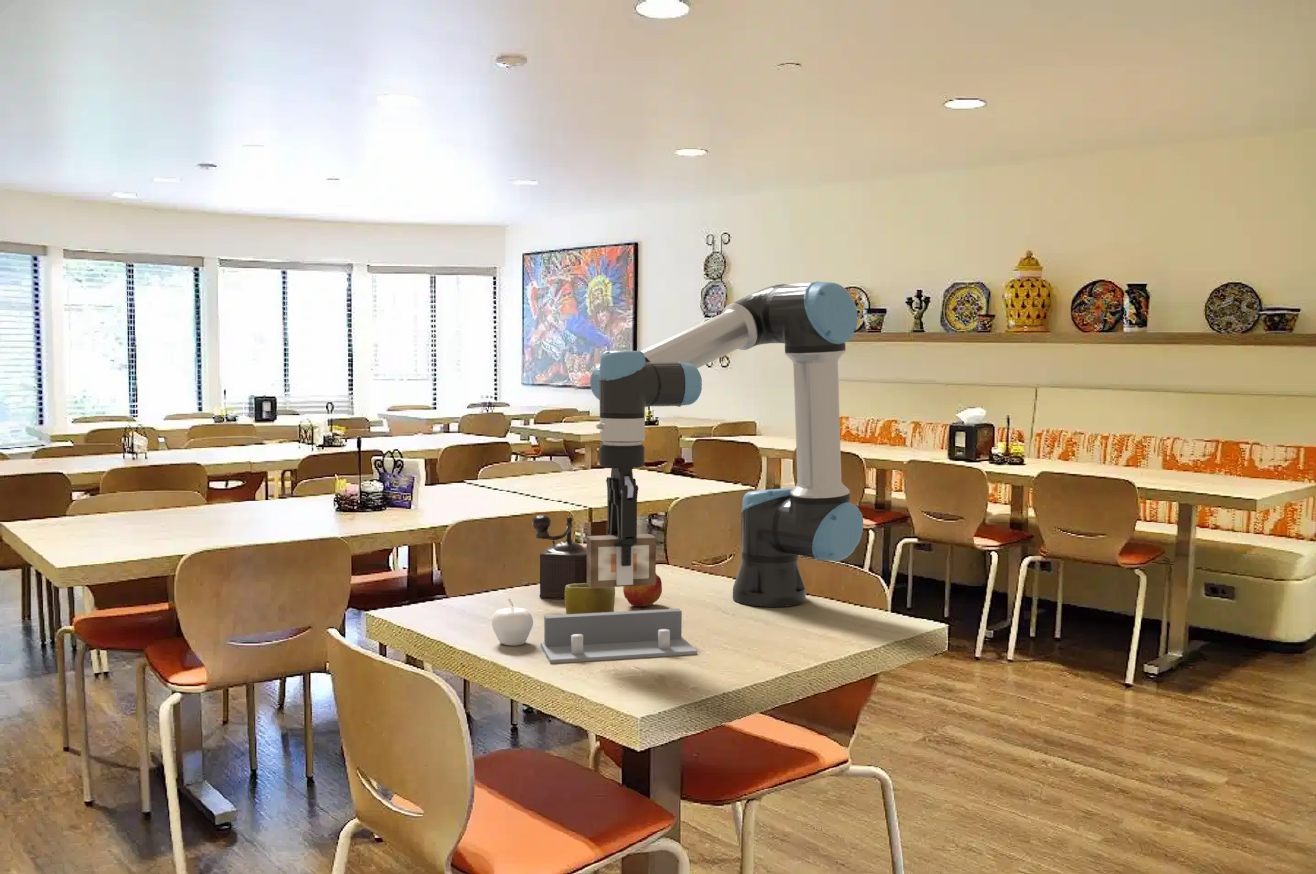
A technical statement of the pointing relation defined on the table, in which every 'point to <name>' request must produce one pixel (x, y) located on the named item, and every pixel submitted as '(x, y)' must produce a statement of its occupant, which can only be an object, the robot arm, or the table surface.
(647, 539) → the picture block
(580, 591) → the mug
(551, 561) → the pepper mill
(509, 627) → the plain white apple
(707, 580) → the table surface
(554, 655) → the ledge
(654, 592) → the fruit
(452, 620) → the table surface
